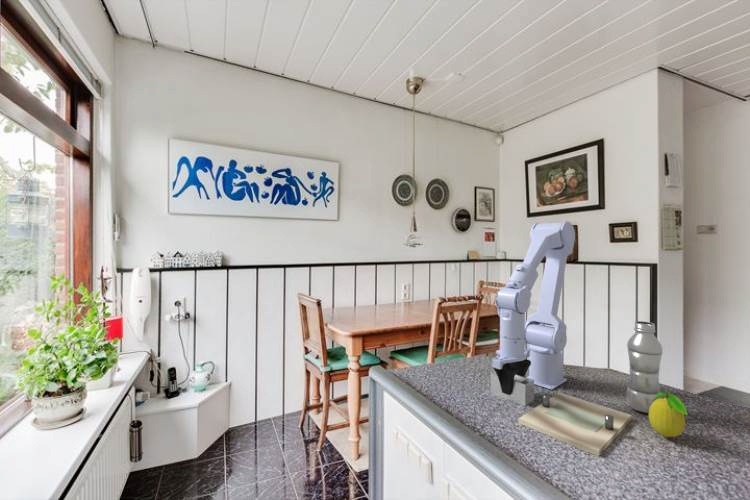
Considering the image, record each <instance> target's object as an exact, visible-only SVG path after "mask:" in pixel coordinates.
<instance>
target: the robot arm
mask: <svg viewBox="0 0 750 500" xmlns="http://www.w3.org/2000/svg"><path fill="white" fill-rule="evenodd" d="M575 239H576V231H575V227H574V225H573V224H572V222H571V221H568V220H567V221H562V222H561V221H560V222H559V221H558V222H542V223H541V222H536V223H534V224H532V226H531V228H530V231H529V240H530V245H529V246H528V249H527V251H526V254H525V256H524V259H523V262H522V263H520V264H517V265H516V266H515V268H514V269H513V270H512V271H513V272H512V273H511V276H510V277H509V279H508V281H507V283H506V285H505V287H502V288H501V289H499V290H497V292H496V295H495V298H494V304H495V306H496V308H497V315H498V316H499V322H500V323H499V349H497V350H496V351H495V354H496V357H494V358H492V368H493V370H494V372H496V374H497V376H498V379H499V382H500V386H501V390H502V393H505V394H507V395H511V393H512V388H513V381H514V377H515V374H517V375H520V376H523V377H527V378H530V379H533V380H534V386H538V387H542V388H546V389H548V390H554V389H556V388H557V387H559V386H561V385H562V384H563V383H565V382H568V381H567V380H568V379H567V378H564V356H563V355H564V354H563V353H562V351H563V350H564V349H565V347H566V345H567V341H568V340H567V325H566V323H565V322H564V321H562V319H561V318H560V317H559V316H558V312H559V305H560V302H561V301H560V300H561V295H562V289H563V288H562V287H563V285H564V283H563V282H564V277H565V271H566V267H567V266H566V265H567V260H568V256H570V255H572V254H573V251H574V247H575V246H574V245H575ZM544 257H545V258H546V260H545V265H544V271H543V276H542V277H543V278H542V280H541V281H542V282H541V287H540V293H539V298H538V304H537V309H536V311H535V312H534V313H532V314H530V315H529V316H527V317H526V313H527V311H528V310H529V309H530V306H531V299H532V289H533V287H534V285H535V283H536V282H537V279H538V277H539V272H538V270H537V269H538V267H540V266H539V265H540V264H541V262H542V261H543V259H544ZM525 344H526V345H525ZM525 346H526V347H525ZM526 358H528V359H526ZM528 371H529V372H528ZM527 372H528V376H526V374H527Z"/></svg>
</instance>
